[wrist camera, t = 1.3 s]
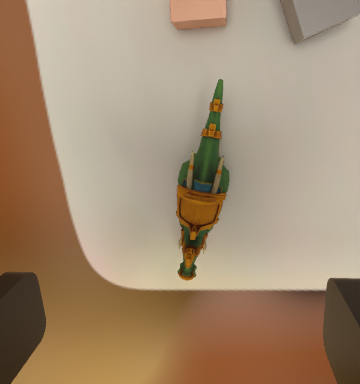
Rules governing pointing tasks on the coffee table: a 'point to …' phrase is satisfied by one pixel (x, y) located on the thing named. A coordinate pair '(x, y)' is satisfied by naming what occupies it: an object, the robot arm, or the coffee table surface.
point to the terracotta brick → (198, 13)
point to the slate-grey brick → (317, 15)
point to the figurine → (201, 190)
